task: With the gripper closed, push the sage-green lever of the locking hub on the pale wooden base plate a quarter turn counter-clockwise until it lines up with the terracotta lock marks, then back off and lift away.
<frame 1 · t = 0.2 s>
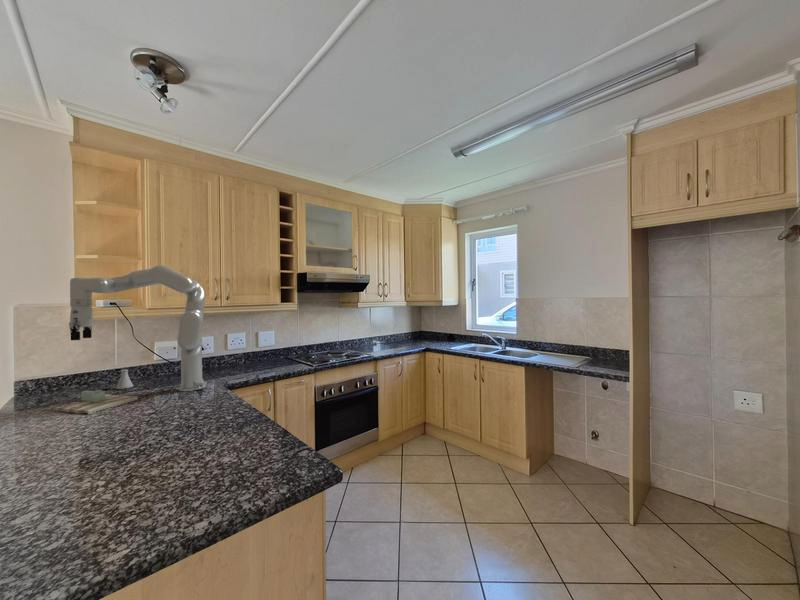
hand: (81, 339, 156), 30 cm above the worktop, tool pointing down, fingers open, 9 cm apart
lock base: (98, 405, 149), on the worktop
lock lever: (92, 395, 150), point 4 cm above the worktop, hinge at 0.0°
flask: (124, 388, 180), on the worktop
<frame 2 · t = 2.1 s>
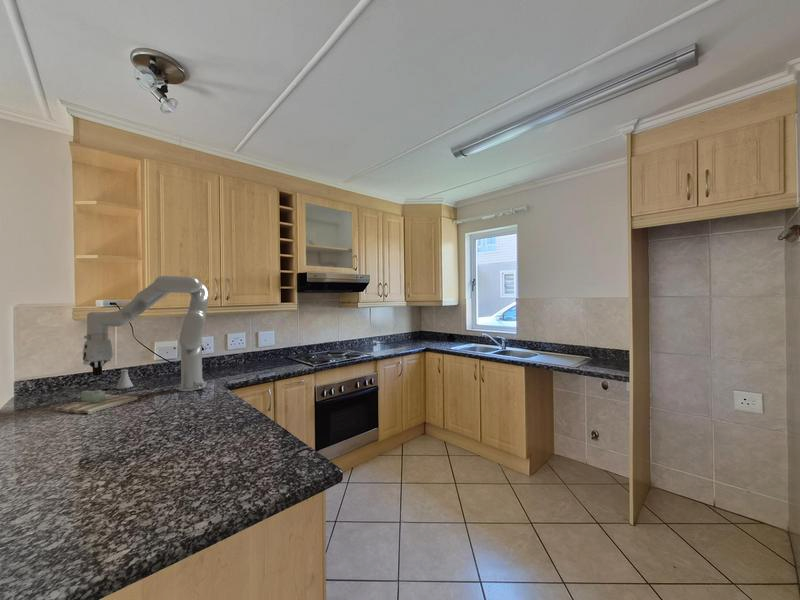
hand: (97, 375, 156), 12 cm above the worktop, tool pointing down, fingers closed
nothing on the worktop moved.
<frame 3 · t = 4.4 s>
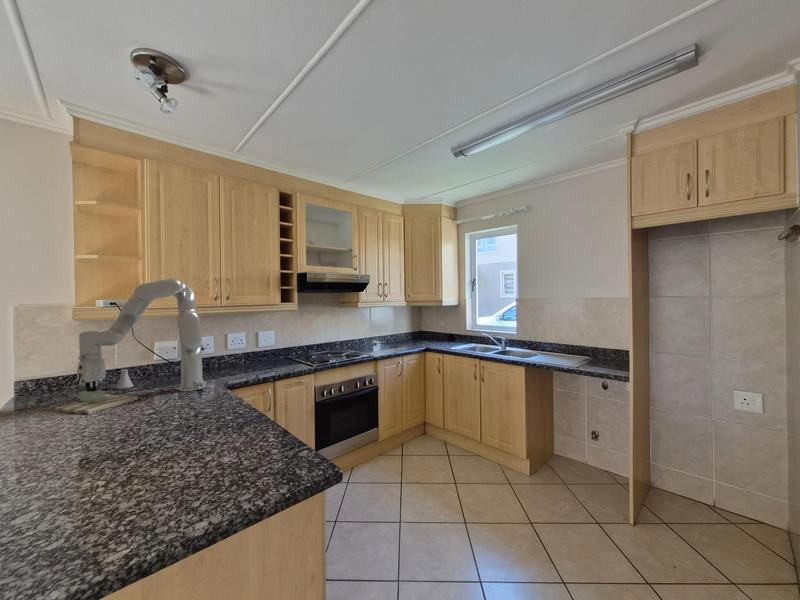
hand: (91, 395, 154), 3 cm above the worktop, tool pointing down, fingers closed
lock lever: (91, 395, 150), point 4 cm above the worktop, hinge at 3.6°, touching gripper
everything else where it was.
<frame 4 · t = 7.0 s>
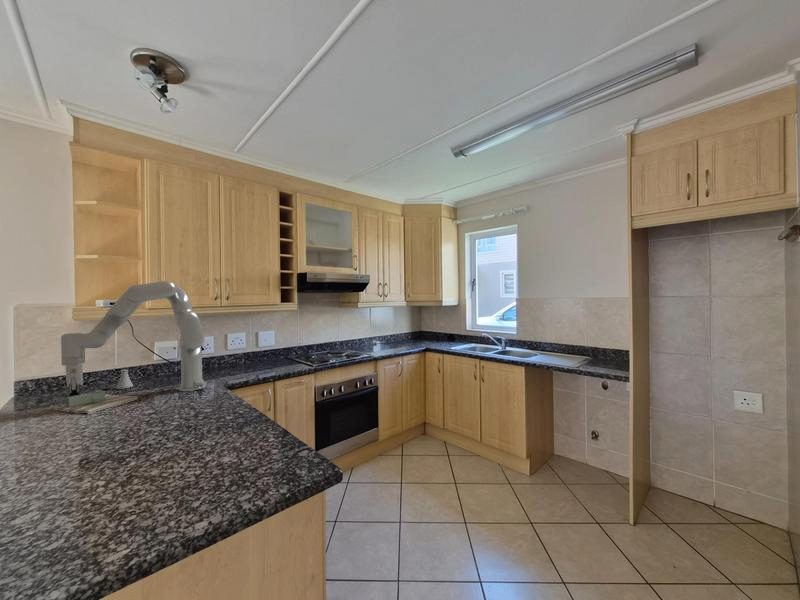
hand: (74, 401, 146), 3 cm above the worktop, tool pointing down, fingers closed
lock lever: (86, 397, 147), point 4 cm above the worktop, hinge at 60.9°, touching gripper
everything else where it was.
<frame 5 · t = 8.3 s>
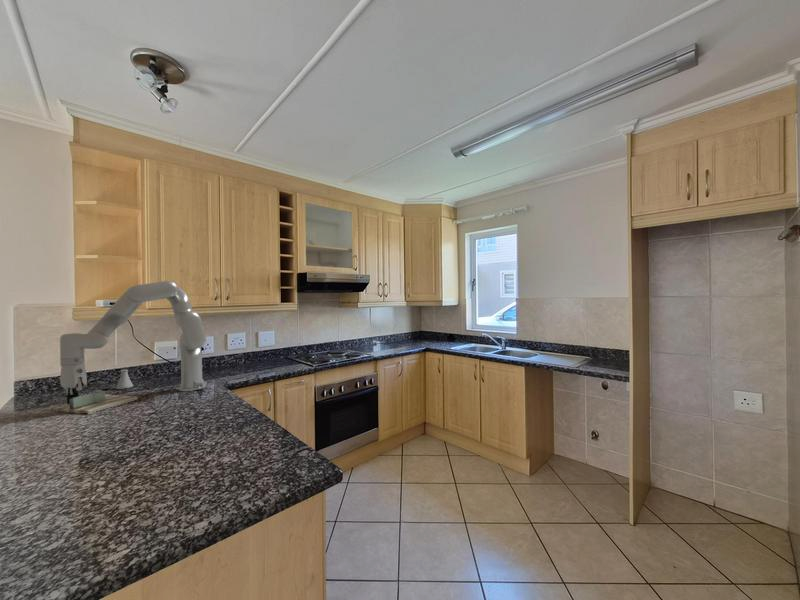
hand: (72, 402, 143), 3 cm above the worktop, tool pointing down, fingers closed
lock lever: (87, 398, 146), point 4 cm above the worktop, hinge at 86.9°, touching gripper
everything else where it was.
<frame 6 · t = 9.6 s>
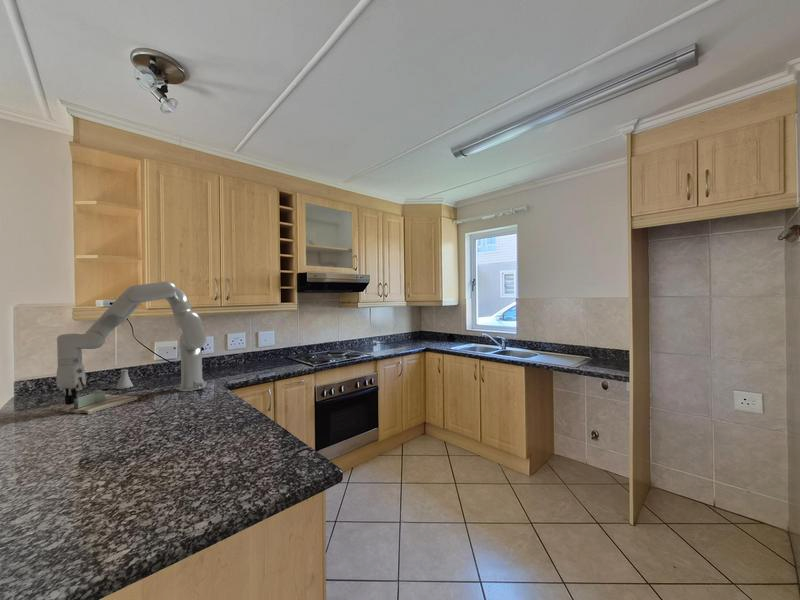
hand: (71, 403, 142), 3 cm above the worktop, tool pointing down, fingers closed
lock lever: (89, 398, 146), point 4 cm above the worktop, hinge at 100.8°
everything else where it was.
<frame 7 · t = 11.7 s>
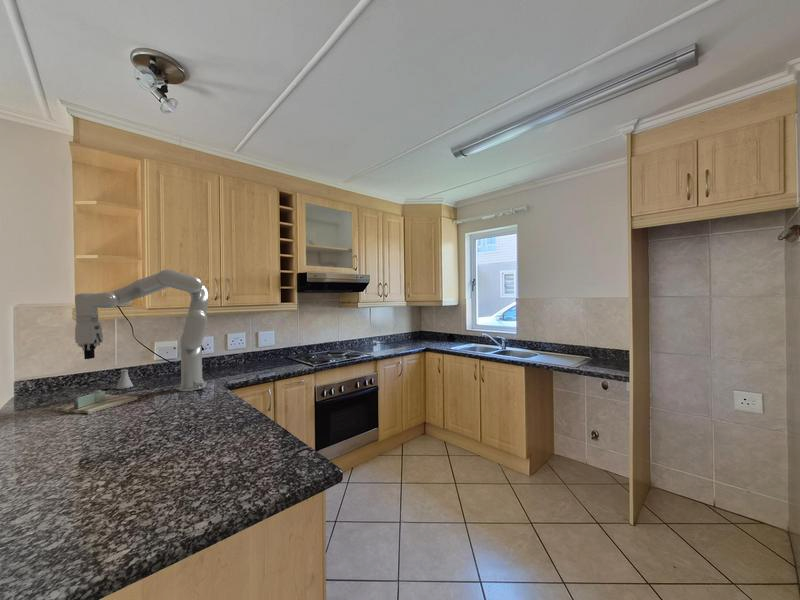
hand: (89, 358, 152), 21 cm above the worktop, tool pointing down, fingers closed
nothing on the worktop moved.
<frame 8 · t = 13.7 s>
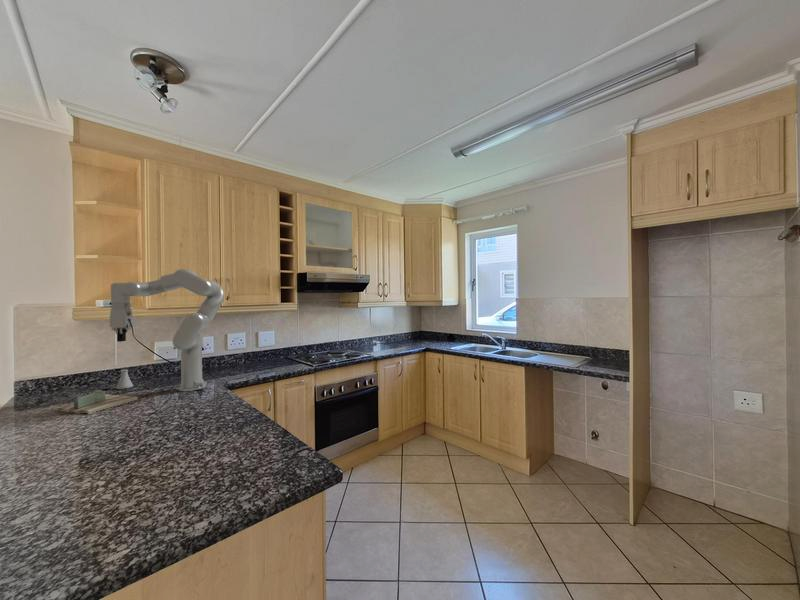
hand: (121, 341, 170), 27 cm above the worktop, tool pointing down, fingers closed
nothing on the worktop moved.
at the end: lock lever at +101° (first picture: +0°) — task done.
